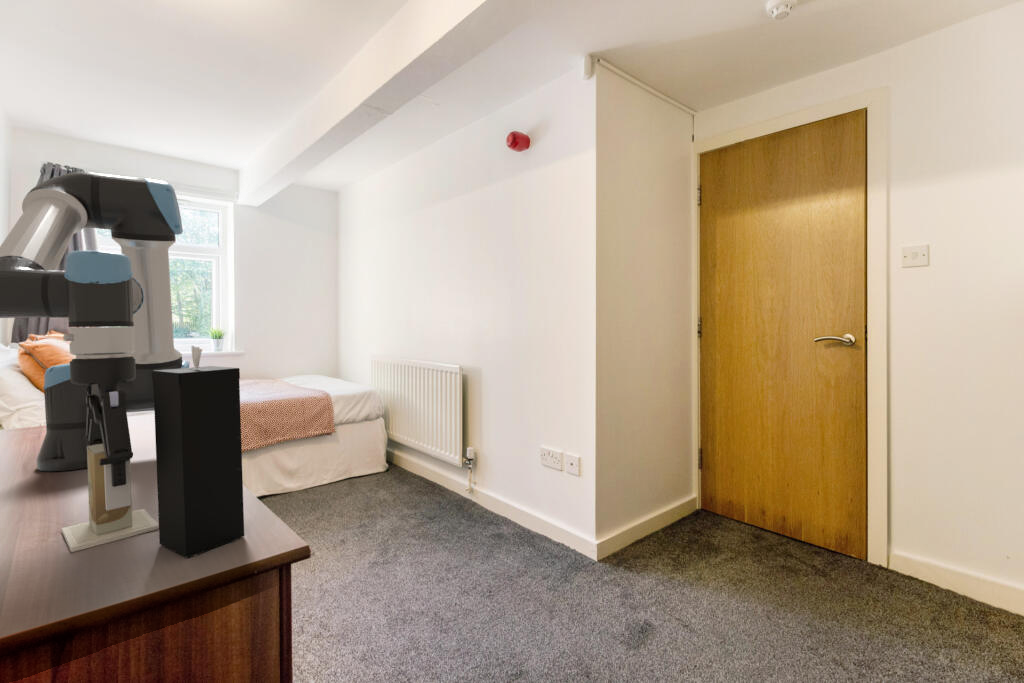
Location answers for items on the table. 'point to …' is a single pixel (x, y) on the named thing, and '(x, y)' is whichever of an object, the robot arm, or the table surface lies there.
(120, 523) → the skincare box
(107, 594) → the table surface
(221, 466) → the tissue box
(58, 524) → the table surface
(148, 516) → the coaster
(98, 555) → the table surface
